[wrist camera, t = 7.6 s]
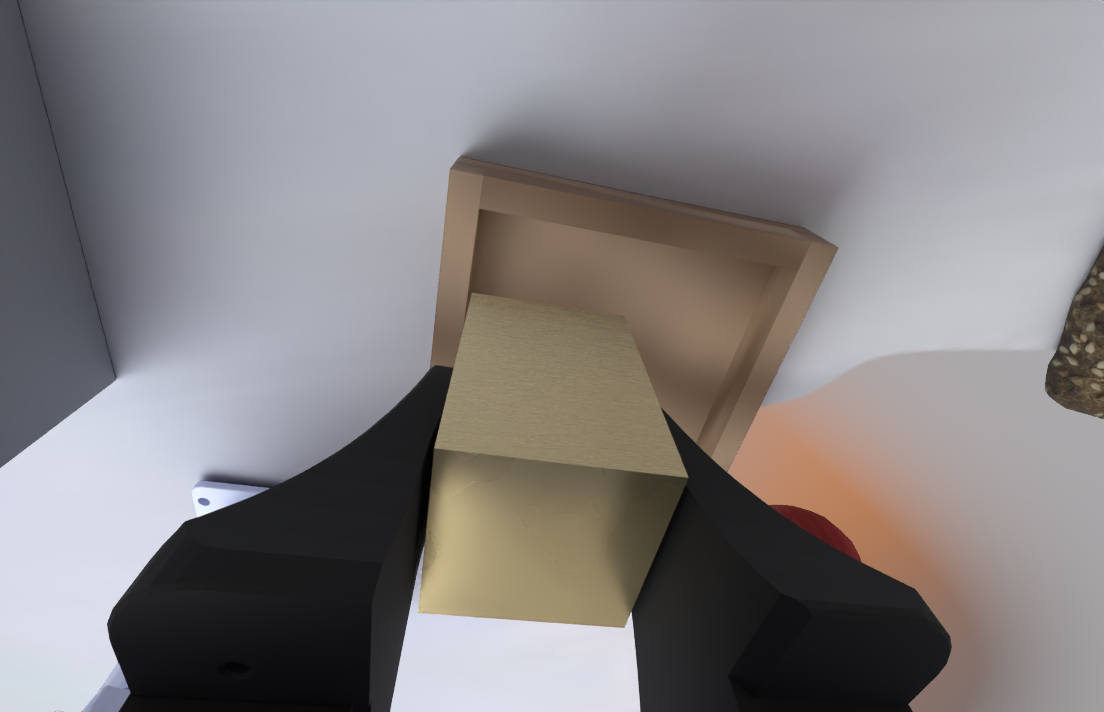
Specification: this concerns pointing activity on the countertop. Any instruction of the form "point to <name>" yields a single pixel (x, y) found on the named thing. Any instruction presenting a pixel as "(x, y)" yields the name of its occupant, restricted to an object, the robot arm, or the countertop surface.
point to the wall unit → (39, 266)
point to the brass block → (547, 470)
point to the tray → (637, 283)
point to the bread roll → (1081, 350)
